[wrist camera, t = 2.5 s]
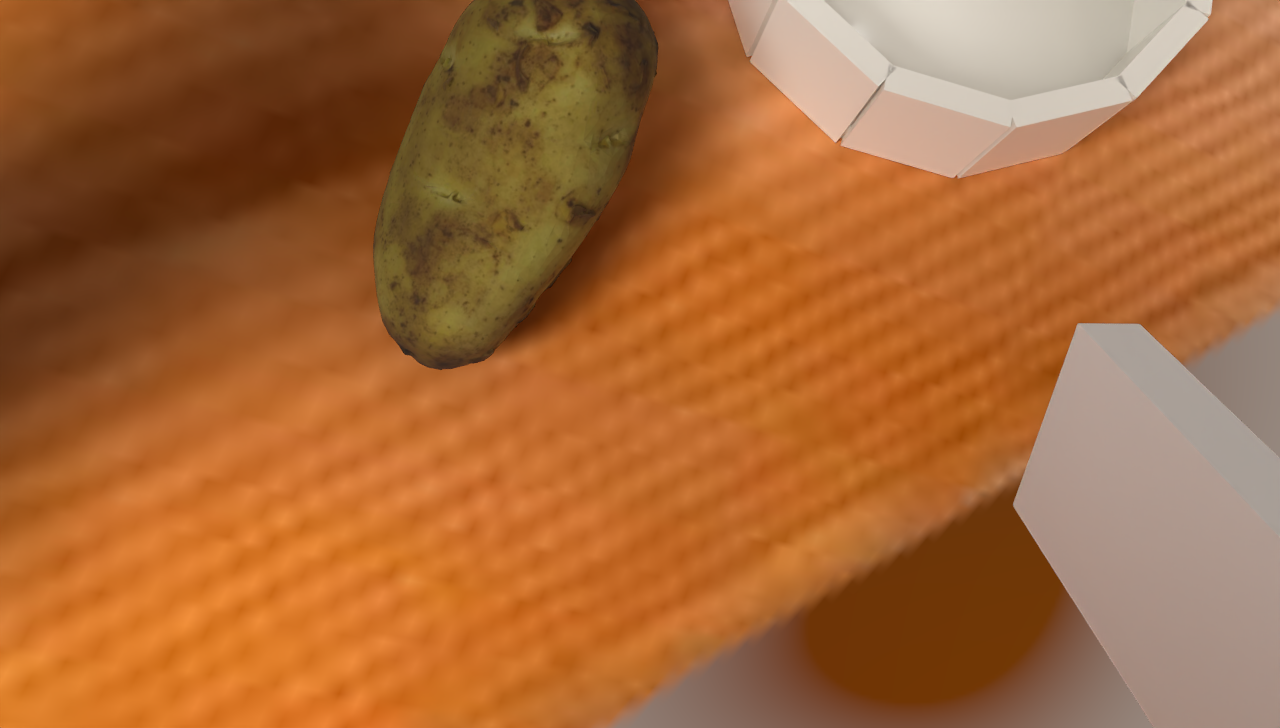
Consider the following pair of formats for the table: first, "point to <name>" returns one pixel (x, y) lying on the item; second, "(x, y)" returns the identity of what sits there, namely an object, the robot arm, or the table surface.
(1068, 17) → the bowl
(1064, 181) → the table surface
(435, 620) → the table surface
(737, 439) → the table surface
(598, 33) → the potato
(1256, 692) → the robot arm
